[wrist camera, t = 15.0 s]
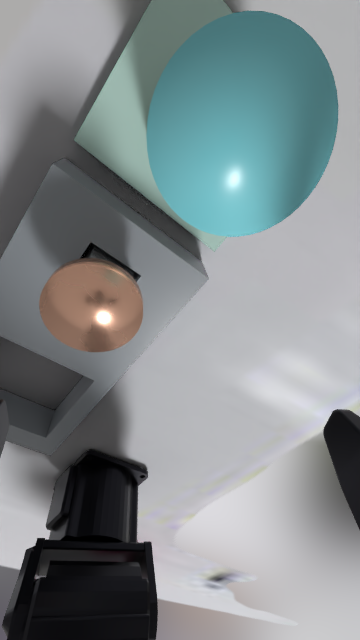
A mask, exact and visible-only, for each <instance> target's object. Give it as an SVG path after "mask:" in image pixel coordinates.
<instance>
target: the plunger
mask: <svg viewBox="0 0 360 640" xmlns="http://www.w3.org/2000/svg"><path fill="white" fill-rule="evenodd" d="M133 277H134V270H132V269H131V268H129V267H128V266H126V265H125V264H123V263H122V262H120V261H119V260H117V259H116V258H114V257H113V256H111V255H110V254H108V253H107V252H105V251H104V250H102V249H101V248H99V247H98V246H96V245H95V244H93V245H92V247H91V248H90V250H89V251H88V253H87V254H86V256H85V257H84V258H81V259H76V260H72V261H70V262H67V263H65V264H63V265H62V266H60V267H59V268H58V269H57V270H56V271H55V272H53V274H52V275H51V276H50V278H49V279H48V281H47V283H46V284H45V286H44V288H43V290H42V292H41V295H40V300H39V309H40V315H41V318H42V320H43V322H44V324H45V326H46V327H47V329H48V330H49V331H50V333H51V334H52V335H53V336H54V337H55V338H57V339H58V340H59V341H61V342H62V343H64V344H66V345H67V346H70V347H72V348H74V349H77V350H81V351H86V352H106V351H111V350H114V349H117V348H119V347H121V346H123V345H125V344H126V343H128V342H129V341H130V340H131V339H132V338H133V337H134V336H135V335H136V333H137V332H138V330H139V328H140V326H141V323H142V319H143V297H142V293H141V290H140V288H139V286H138V284H137V282H136V281H135V279H134V278H133Z"/></svg>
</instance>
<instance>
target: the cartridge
mask: <svg viewBox="0 0 360 640" xmlns="http://www.w3.org/2000/svg"><path fill="white" fill-rule="evenodd" d="M337 124H338V99H337V90H336V86H335V81H334V77H333V74H332V71H331V68H330V66H329V63H328V61H327V59H326V57H325V55H324V54H323V52H322V50H321V48H320V47H319V46H318V44H317V43H316V42H315V41H314V39H313V38H312V37H311V36H310V35H309V34H308V33H307V32H306V31H305V30H304V29H303V28H301V27H300V26H298V25H297V24H295V23H294V22H292V21H291V20H289V19H287V18H284V17H282V16H279V15H277V14H273V13H268V12H264V11H244V12H237V13H232V14H229V15H226V16H223V17H220V18H218V19H216V20H214V21H212V22H210V23H208V24H206V25H205V26H203V27H202V28H200V29H199V30H198V31H196V32H195V33H194V34H192V35H191V36H190V37H189V38H188V39H187V40H186V41H185V42H184V43H183V44H182V45H181V46H180V47H179V48H178V50H177V51H176V52H175V54H174V55H173V56H172V58H171V59H170V60H169V62H168V64H167V65H166V67H165V69H164V71H163V72H162V74H161V76H160V78H159V81H158V83H157V85H156V88H155V90H154V94H153V97H152V100H151V104H150V108H149V114H148V120H147V134H146V137H147V152H148V158H149V164H150V168H151V171H152V175H153V178H154V180H155V182H156V185H157V187H158V189H159V191H160V193H161V194H162V196H163V198H164V200H165V201H166V202H167V204H168V205H169V206H170V207H171V209H172V210H173V211H174V212H175V213H176V214H177V215H178V216H179V217H180V218H182V219H183V220H184V221H186V222H187V223H188V224H190V225H192V226H193V227H195V228H197V229H199V230H201V231H204V232H206V233H210V234H214V235H218V236H227V237H236V236H245V235H251V234H254V233H258V232H261V231H263V230H266V229H268V228H270V227H272V226H274V225H276V224H277V223H279V222H281V221H282V220H284V219H285V218H286V217H288V216H289V215H291V214H292V213H293V212H294V211H295V210H296V209H297V208H298V207H299V206H300V205H301V204H302V203H303V202H304V201H305V200H306V199H307V198H308V196H309V195H310V194H311V192H312V191H313V189H314V188H315V187H316V185H317V183H318V182H319V180H320V178H321V177H322V175H323V173H324V171H325V168H326V166H327V164H328V162H329V159H330V156H331V153H332V150H333V146H334V142H335V138H336V132H337Z"/></svg>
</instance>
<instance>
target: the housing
mask: <svg viewBox="0 0 360 640" xmlns="http://www.w3.org/2000/svg"><path fill="white" fill-rule="evenodd" d="M90 242H92V243H93V244H95V245H96V246H98V247H99V248H101V249H102V250H104V251H105V252H107V253H108V254H110V255H111V256H113V257H114V258H116V259H117V260H119V261H120V262H122V263H123V264H125V265H126V266H128V267H129V268H131V269H132V270H134V277H133V278H134V279H135V281H136V282H137V284H138V286H139V288H140V290H141V293H142V297H143V319H142V323H141V326H140V328H139V330H138V332H137V333H136V335H135V336H134V337H133V338H132V339H131V340H130V341H129V342H128V343H126V344H125V345H123V346H121V347H119V348H117V349H114V350H111V351H106V352H86V351H81V350H77V349H74V348H72V347H70V346H67V345H66V344H64V343H62V342H61V341H59V340H58V339H57V338H55V337H54V336H53V335H52V334H51V333H50V331H49V330H48V329H47V327H46V326H45V324H44V322H43V320H42V318H41V315H40V309H39V300H40V295H41V292H42V290H43V288H44V286H45V284H46V283H47V281H48V279H49V278H50V276H51V275H52V274H53V272H55V271H56V270H57V269H58V268H59V267H60V266H62V265H63V264H65V263H67V262H70V261H72V260H76V259H80V257H81V256H82V254H83V253H84V251H85V250H86V248H87V247H88V245H89V244H90ZM208 279H209V278H208V275H207V273H206V270H205V268H204V266H203V263H202V261H200V260H199V259H198V258H197V257H195V256H194V255H193V254H191V253H190V252H189V251H187V250H186V249H185V248H183V247H182V246H181V245H179V244H178V243H177V242H175V241H174V240H173V239H171V238H170V237H169V236H168V235H166V234H165V233H164V232H162V231H161V230H160V229H158V228H157V227H156V226H154V225H153V224H152V223H150V222H149V221H148V220H146V219H145V218H144V217H143V216H141V215H140V214H139V213H137V212H136V211H135V210H133V209H132V208H131V207H129V206H128V205H127V204H125V203H124V202H123V201H121V200H120V199H119V198H118V197H116V196H115V195H114V194H112V193H111V192H110V191H108V190H107V189H106V188H104V187H103V186H102V185H100V184H99V183H98V182H96V181H95V180H94V179H92V178H91V177H90V176H89V175H87V174H86V173H85V172H83V171H82V170H81V169H79V168H78V167H77V166H75V165H74V164H73V163H71V162H70V161H69V160H67V159H66V158H64V159H62V160H59V161H57V162H55V163H53V164H52V165H51V167H50V169H49V171H48V173H47V175H46V176H45V178H44V180H43V182H42V184H41V186H40V187H39V189H38V191H37V193H36V195H35V197H34V198H33V200H32V202H31V204H30V206H29V208H28V209H27V211H26V213H25V215H24V217H23V219H22V220H21V222H20V224H19V226H18V228H17V230H16V231H15V233H14V235H13V237H12V239H11V240H10V242H9V244H8V246H7V248H6V250H5V251H4V253H3V255H2V257H1V259H0V336H1V337H3V338H5V339H7V340H9V341H11V342H13V343H15V344H18V345H20V346H22V347H24V348H26V349H28V350H30V351H32V352H35V353H37V354H39V355H41V356H43V357H45V358H47V359H49V360H51V361H54V362H56V363H58V364H60V365H62V366H64V367H66V368H68V369H71V370H73V371H75V372H77V373H79V374H81V375H83V377H82V378H81V379H80V381H79V382H78V383H77V384H76V386H75V387H74V388H73V389H72V390H71V392H70V393H69V394H68V395H67V397H66V398H65V399H64V400H63V401H62V403H61V404H60V405H59V406H58V407H57V409H56V410H55V411H54V410H51V409H49V408H46V407H44V406H42V405H39V404H37V403H34V402H32V401H29V400H27V399H24V398H22V397H19V396H17V395H14V394H12V393H10V392H7V391H5V390H2V389H0V399H3V400H5V402H6V406H7V412H8V417H9V430H8V434H7V437H6V441H8V442H11V443H14V444H17V445H20V446H23V447H26V448H29V449H32V450H35V451H37V452H40V453H43V454H46V455H49V456H51V455H52V454H53V453H54V452H55V451H56V449H57V448H58V447H59V446H60V445H61V444H62V443H63V442H64V440H65V439H66V438H67V437H68V436H69V435H70V434H71V433H72V431H73V430H74V429H75V428H76V427H77V426H78V425H79V424H80V423H81V421H82V420H83V419H84V418H85V417H86V416H87V415H88V414H89V412H90V411H91V410H92V409H93V408H94V407H95V406H96V405H97V404H98V402H99V401H100V400H101V399H102V398H103V397H104V396H105V395H106V393H107V392H108V391H109V390H110V389H111V388H112V387H113V386H114V385H115V383H116V382H117V381H118V380H119V379H120V378H121V377H122V376H123V374H124V373H125V372H126V371H127V370H128V369H129V368H130V367H131V365H132V364H133V363H134V362H135V361H136V360H137V359H138V358H139V357H140V355H141V354H142V353H143V352H144V351H145V350H146V349H147V348H148V346H149V345H150V344H151V343H152V342H153V341H154V340H155V339H156V338H157V336H158V335H159V334H160V333H161V332H162V331H163V330H164V329H165V327H166V326H167V325H168V324H169V323H170V322H171V321H172V320H173V318H174V317H175V316H176V315H177V314H178V313H179V312H180V311H181V310H182V308H183V307H184V306H185V305H186V304H187V303H188V302H189V301H190V299H191V298H192V297H193V296H194V295H195V294H196V293H197V292H198V291H199V289H200V288H201V287H202V286H203V285H204V284H205V283H206V282H207V280H208Z"/></svg>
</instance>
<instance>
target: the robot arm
mask: <svg viewBox="0 0 360 640" xmlns="http://www.w3.org/2000/svg"><path fill="white" fill-rule="evenodd" d="M8 430H9V417H8V412H7V406H6V402H5V400H3V399H0V457H1V454H2V450H3V447H4V444H5V441H6V437H7V434H8ZM323 433H324V438H325V441H326V444H327V447H328V450H329V453H330V456H331V459H332V462H333V465H334V468H335V471H336V474H337V477H338V480H339V482H340V485H341V488H342V491H343V493H344V495H345V498H346V500H347V502H348V504H349V507H350V509H351V511H352V513H353V516H354V518H355V520H356V523H357V525H358V527H359V529H360V417H359V416H357V415H356V414H355V413H353V412H352V411H350V410H342V409H337V410H334V411H333V412H332V414H331V416H330V418H329V419H328V421H327V423H326V425H325V427H324V431H323ZM147 478H148V471H147V470H144V469H142V468H139V467H136V466H134V465H131V464H128V463H126V462H123V461H120V460H118V459H115V458H112V457H109V456H107V455H104V454H101V453H99V452H96V451H93V450H89V451H86V452H85V453H84V454H83V455H82V456H81V457H80V458H79V459H78V460H77V462H76V463H75V464H74V465H72V466H70V467H69V468H68V469H67V470H66V471H65V472H64V473H63V474H62V475H61V476H60V477H59V478H58V479H57V482H56V483H55V486H54V494H53V498H52V502H51V506H50V510H49V514H48V518H47V522H46V528H47V530H51V532H50V537H49V540H45V538H37V542H36V545H35V546H34V547H32V548H29V549H27V550H26V552H25V556H24V559H23V563H22V566H21V570H20V573H19V577H18V580H17V582H16V585H15V588H14V591H13V594H12V597H11V599H10V602H9V605H8V608H7V611H6V613H5V616H4V620H3V624H2V628H3V630H4V632H5V633H6V636H7V640H155V639H156V632H157V615H158V610H157V592H156V583H155V573H154V564H153V555H152V545H151V542H144V543H137V512H138V486H139V485H140V484H141V483H142V482H143V481H144V480H146V479H147ZM39 575H46V577H41V578H40V579H38V577H39Z"/></svg>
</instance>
